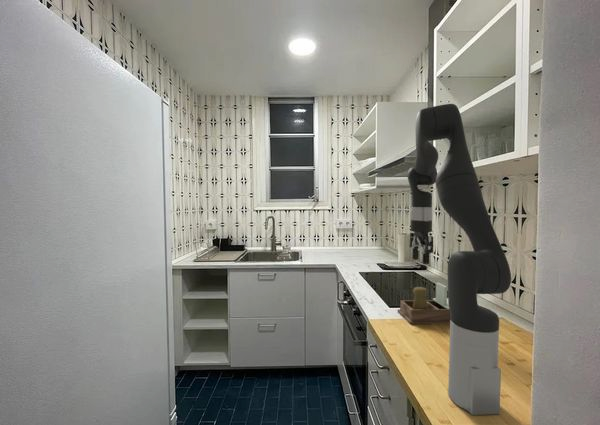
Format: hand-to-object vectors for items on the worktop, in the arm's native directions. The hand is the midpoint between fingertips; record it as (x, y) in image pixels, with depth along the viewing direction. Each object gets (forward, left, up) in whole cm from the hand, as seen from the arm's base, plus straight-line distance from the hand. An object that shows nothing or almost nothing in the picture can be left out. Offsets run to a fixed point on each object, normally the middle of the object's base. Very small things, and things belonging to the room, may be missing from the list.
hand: (420, 261), depth 110 cm
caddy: (0, -6, -22) cm, 23 cm away
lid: (0, -13, -17) cm, 21 cm away
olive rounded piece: (-1, 0, -21) cm, 21 cm away
